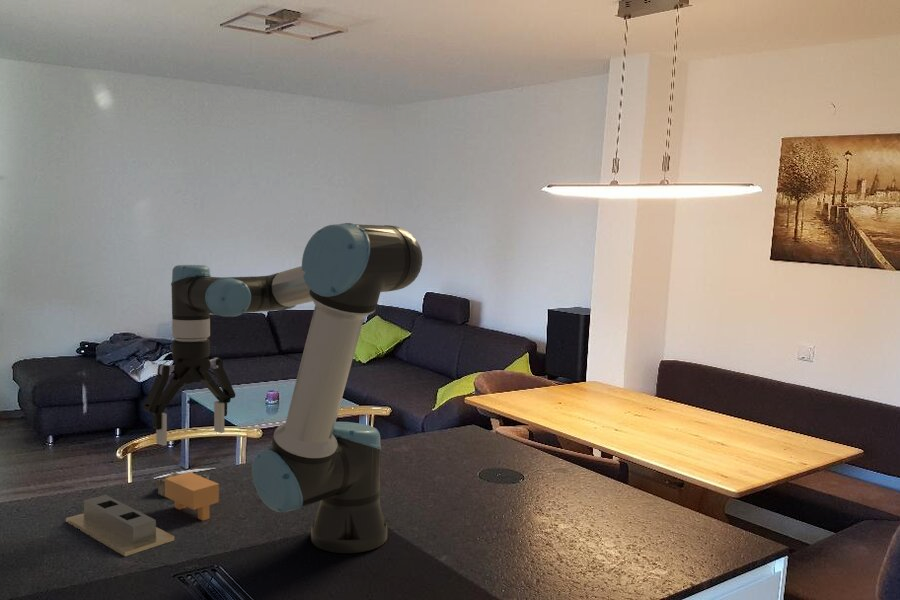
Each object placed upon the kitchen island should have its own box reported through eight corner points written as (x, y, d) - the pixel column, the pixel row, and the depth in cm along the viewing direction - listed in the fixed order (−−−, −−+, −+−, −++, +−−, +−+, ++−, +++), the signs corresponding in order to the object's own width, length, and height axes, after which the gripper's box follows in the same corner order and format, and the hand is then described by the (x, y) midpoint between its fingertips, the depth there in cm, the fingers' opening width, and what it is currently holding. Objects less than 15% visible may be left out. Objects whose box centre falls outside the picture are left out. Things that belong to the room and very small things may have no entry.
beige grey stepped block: (174, 540, 146) (174, 518, 145) (124, 556, 138) (124, 534, 138) (113, 508, 161) (113, 489, 160) (66, 521, 153) (65, 501, 153)
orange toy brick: (218, 515, 159) (218, 483, 158) (193, 523, 154) (193, 490, 153) (190, 502, 166) (190, 472, 165) (165, 510, 161) (164, 478, 160)
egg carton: (153, 497, 169) (153, 479, 169) (167, 486, 177) (167, 469, 176) (200, 499, 169) (200, 481, 168) (212, 487, 176) (212, 470, 176)
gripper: (231, 331, 168) (231, 423, 170) (124, 342, 149) (125, 446, 151) (251, 335, 164) (251, 429, 166) (144, 346, 144) (144, 453, 146)
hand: (191, 437), depth 158 cm, fingers open, 13 cm apart
